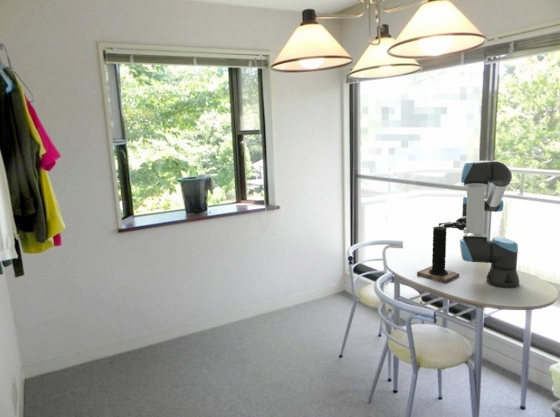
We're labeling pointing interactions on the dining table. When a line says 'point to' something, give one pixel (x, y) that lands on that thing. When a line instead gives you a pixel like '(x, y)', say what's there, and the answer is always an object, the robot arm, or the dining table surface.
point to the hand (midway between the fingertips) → (451, 229)
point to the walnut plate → (442, 279)
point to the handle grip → (439, 251)
